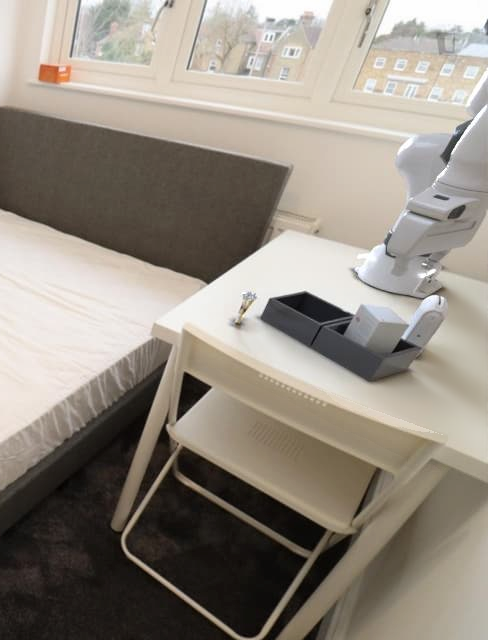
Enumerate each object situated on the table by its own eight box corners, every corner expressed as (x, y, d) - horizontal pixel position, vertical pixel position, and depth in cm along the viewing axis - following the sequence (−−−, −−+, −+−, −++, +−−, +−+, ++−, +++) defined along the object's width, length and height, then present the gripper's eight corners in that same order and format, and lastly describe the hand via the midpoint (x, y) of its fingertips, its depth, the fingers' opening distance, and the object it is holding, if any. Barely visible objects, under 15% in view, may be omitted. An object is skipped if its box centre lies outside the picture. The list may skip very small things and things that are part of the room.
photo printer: (418, 360, 111) (453, 311, 103) (394, 352, 113) (427, 303, 106) (420, 342, 117) (453, 294, 110) (397, 335, 119) (429, 288, 112)
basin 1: (295, 310, 127) (305, 290, 124) (345, 337, 117) (358, 316, 114) (259, 318, 123) (269, 298, 120) (308, 346, 113) (320, 325, 110)
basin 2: (347, 338, 117) (359, 317, 114) (407, 369, 107) (422, 347, 104) (310, 347, 113) (322, 326, 109) (369, 381, 103) (384, 358, 100)
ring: (240, 330, 117) (254, 300, 113) (226, 325, 119) (239, 295, 115) (248, 319, 122) (262, 290, 117) (235, 315, 124) (247, 285, 119)
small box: (382, 367, 106) (411, 325, 100) (353, 364, 107) (380, 321, 101) (363, 347, 113) (389, 306, 107) (337, 344, 113) (361, 302, 107)
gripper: (470, 191, 96) (427, 258, 104) (403, 200, 89) (362, 271, 97) (510, 201, 91) (461, 271, 99) (442, 212, 84) (396, 286, 93)
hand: (412, 271), depth 98 cm, fingers open, 8 cm apart
